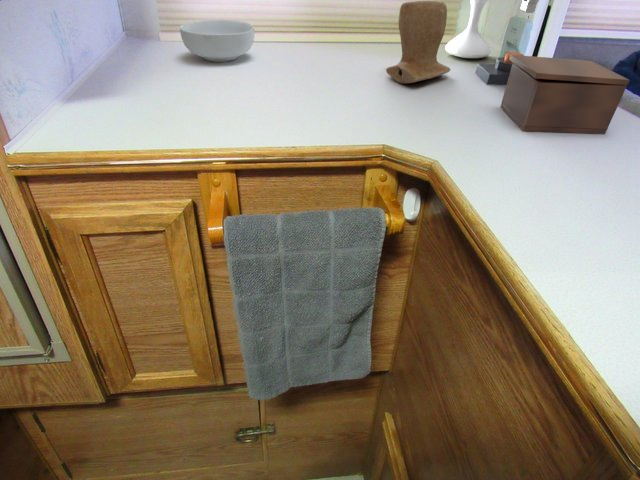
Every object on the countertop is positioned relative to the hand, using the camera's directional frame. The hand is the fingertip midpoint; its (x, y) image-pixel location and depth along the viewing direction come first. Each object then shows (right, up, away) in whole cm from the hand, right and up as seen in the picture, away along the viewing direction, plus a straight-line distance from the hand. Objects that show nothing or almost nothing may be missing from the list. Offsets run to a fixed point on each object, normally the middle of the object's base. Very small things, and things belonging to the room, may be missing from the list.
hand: (526, 11), depth 86 cm
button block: (0, -11, +8) cm, 14 cm away
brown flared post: (-21, -10, +8) cm, 25 cm away
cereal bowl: (-66, -2, +17) cm, 68 cm away
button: (0, -8, +6) cm, 10 cm away
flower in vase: (-4, +2, +26) cm, 26 cm away
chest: (-2, -25, -12) cm, 28 cm away
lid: (-2, -19, -16) cm, 25 cm away
